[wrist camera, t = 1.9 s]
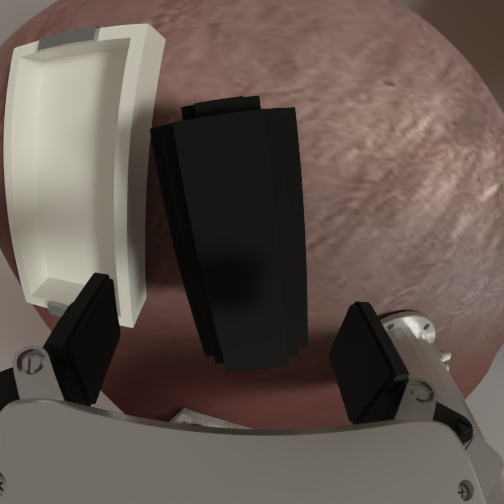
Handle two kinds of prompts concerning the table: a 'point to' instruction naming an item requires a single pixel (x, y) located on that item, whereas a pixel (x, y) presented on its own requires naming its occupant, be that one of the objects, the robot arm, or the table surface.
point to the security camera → (238, 227)
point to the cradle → (81, 162)
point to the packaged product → (202, 420)
